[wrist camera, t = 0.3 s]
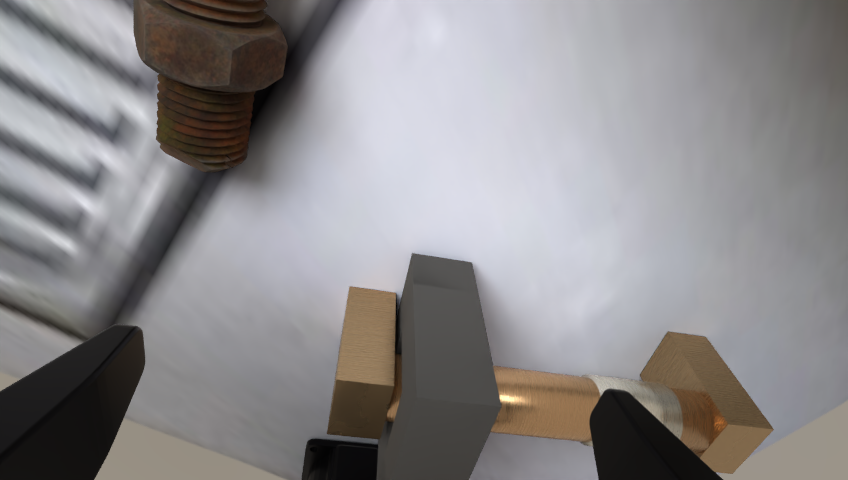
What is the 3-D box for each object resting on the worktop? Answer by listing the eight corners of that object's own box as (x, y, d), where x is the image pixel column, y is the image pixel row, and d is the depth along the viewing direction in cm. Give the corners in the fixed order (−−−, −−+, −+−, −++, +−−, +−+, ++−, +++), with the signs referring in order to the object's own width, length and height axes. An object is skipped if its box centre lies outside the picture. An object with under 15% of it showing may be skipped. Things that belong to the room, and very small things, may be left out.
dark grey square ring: (471, 262, 24) (501, 406, 17) (431, 387, 29) (441, 540, 22) (412, 253, 24) (416, 397, 17) (381, 381, 29) (374, 536, 21)
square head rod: (706, 337, 28) (775, 432, 23) (675, 379, 30) (734, 476, 25) (349, 286, 25) (335, 382, 20) (341, 337, 27) (326, 437, 22)
